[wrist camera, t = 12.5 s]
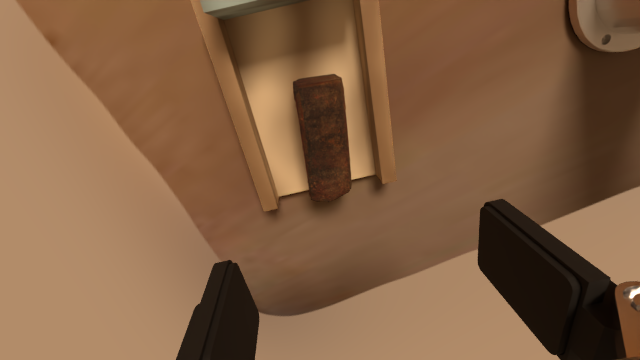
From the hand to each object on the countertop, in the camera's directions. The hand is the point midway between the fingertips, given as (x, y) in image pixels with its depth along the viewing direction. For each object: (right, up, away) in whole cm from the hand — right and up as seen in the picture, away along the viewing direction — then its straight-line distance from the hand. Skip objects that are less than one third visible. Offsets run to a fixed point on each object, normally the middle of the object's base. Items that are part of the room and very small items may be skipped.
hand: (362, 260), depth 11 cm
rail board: (-3, +11, +16) cm, 20 cm away
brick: (-2, +8, +17) cm, 19 cm away
